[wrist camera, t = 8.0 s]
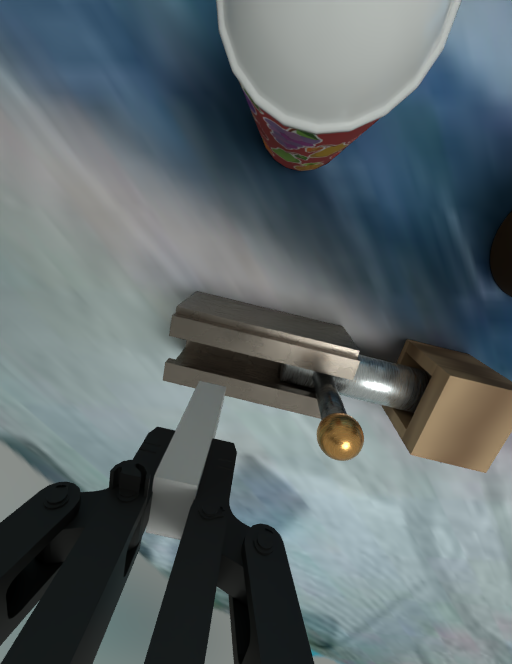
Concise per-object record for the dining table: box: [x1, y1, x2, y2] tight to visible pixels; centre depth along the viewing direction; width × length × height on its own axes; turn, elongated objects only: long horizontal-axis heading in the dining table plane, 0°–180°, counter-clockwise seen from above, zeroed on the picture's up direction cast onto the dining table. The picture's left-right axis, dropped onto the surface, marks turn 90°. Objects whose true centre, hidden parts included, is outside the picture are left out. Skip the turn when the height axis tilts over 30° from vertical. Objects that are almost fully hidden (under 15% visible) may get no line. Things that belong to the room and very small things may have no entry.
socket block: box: [382, 339, 512, 473], centre depth 26 cm, size 6×7×8 cm
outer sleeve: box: [163, 291, 360, 419], centre depth 26 cm, size 14×6×7 cm, turn 77°
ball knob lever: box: [280, 354, 432, 461], centre depth 22 cm, size 16×4×12 cm, turn 77°
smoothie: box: [216, 0, 461, 171], centre depth 14 cm, size 8×8×20 cm
